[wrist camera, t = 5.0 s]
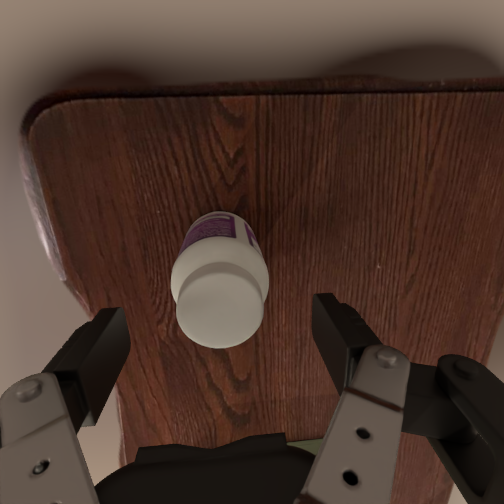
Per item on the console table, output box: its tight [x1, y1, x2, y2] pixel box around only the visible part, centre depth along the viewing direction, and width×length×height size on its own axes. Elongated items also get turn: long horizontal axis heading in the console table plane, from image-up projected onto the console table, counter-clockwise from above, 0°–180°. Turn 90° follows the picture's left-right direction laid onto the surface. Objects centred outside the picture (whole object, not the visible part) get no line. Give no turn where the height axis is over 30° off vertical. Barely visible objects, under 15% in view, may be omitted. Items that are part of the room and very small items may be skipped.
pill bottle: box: [171, 211, 269, 348], centre depth 17 cm, size 5×5×10 cm
